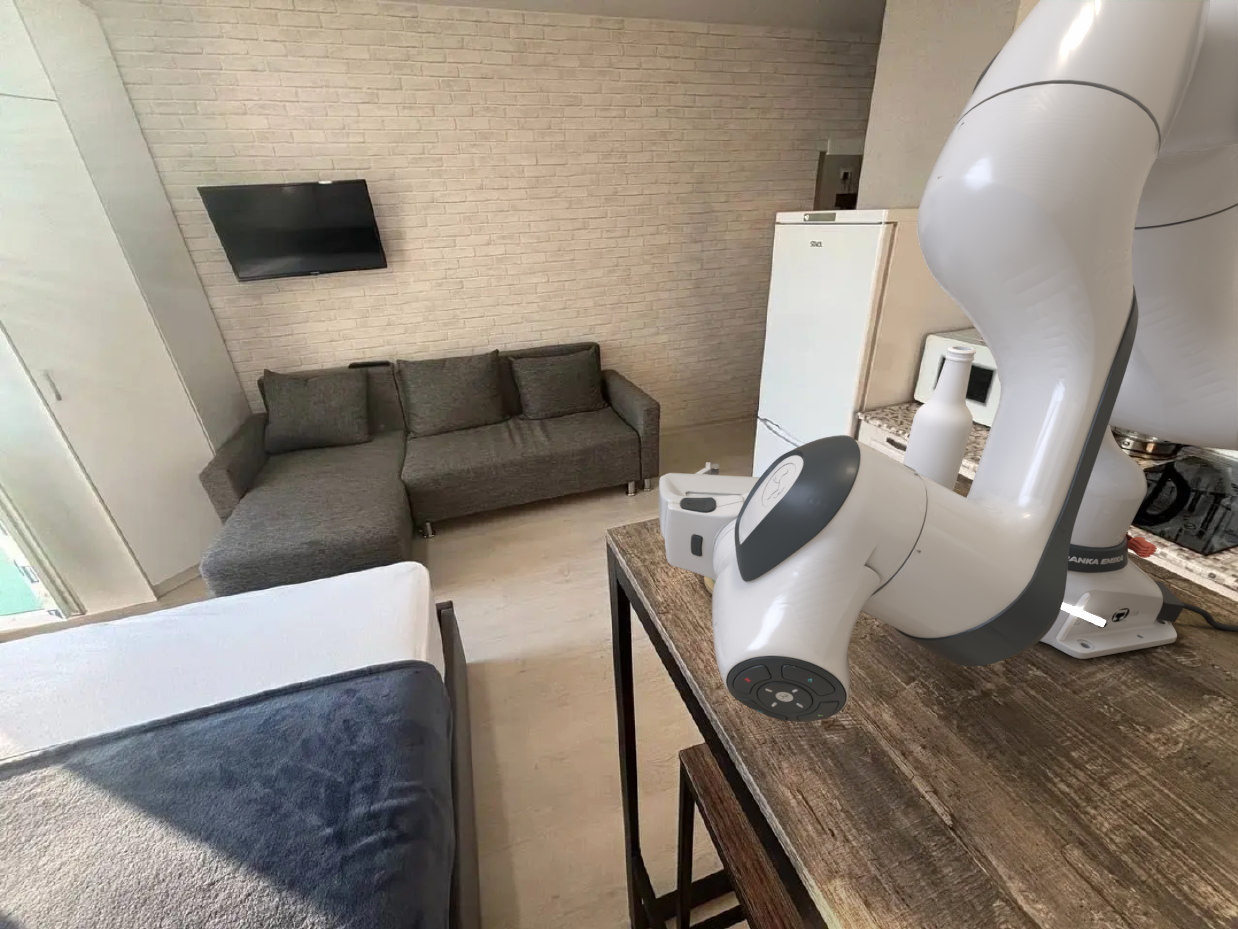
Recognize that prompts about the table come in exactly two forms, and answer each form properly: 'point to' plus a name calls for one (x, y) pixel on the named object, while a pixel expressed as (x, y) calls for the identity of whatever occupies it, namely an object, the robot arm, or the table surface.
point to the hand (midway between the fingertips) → (755, 470)
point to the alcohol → (943, 423)
